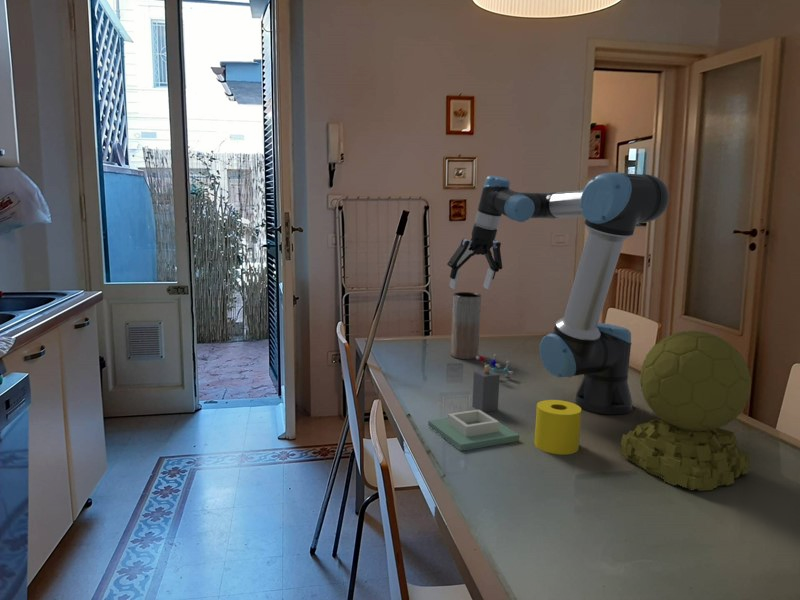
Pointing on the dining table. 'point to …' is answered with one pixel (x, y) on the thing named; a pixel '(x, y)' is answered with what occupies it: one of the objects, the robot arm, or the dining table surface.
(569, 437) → the yellow hollow cylinder
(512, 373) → the molecular model
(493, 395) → the plug
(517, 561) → the dining table surface
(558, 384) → the dining table surface
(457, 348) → the planter
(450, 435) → the board
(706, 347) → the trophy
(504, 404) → the dining table surface
